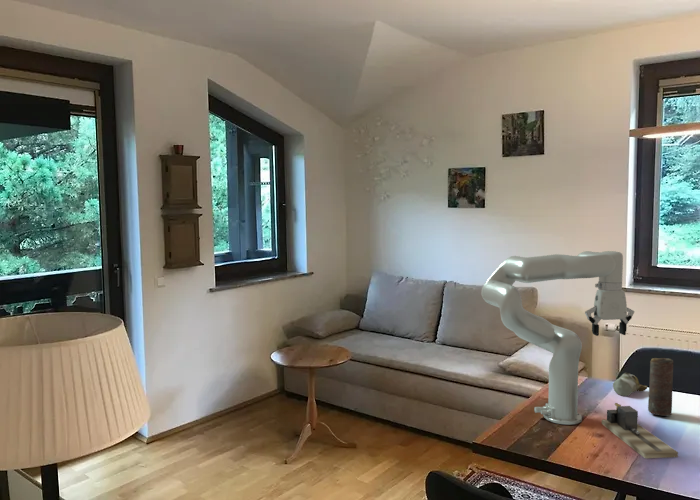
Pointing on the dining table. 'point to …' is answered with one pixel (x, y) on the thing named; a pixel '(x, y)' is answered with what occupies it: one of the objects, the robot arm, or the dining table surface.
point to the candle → (660, 386)
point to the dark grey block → (627, 418)
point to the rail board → (642, 441)
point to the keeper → (613, 414)
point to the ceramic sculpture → (627, 385)
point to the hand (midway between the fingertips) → (609, 334)
